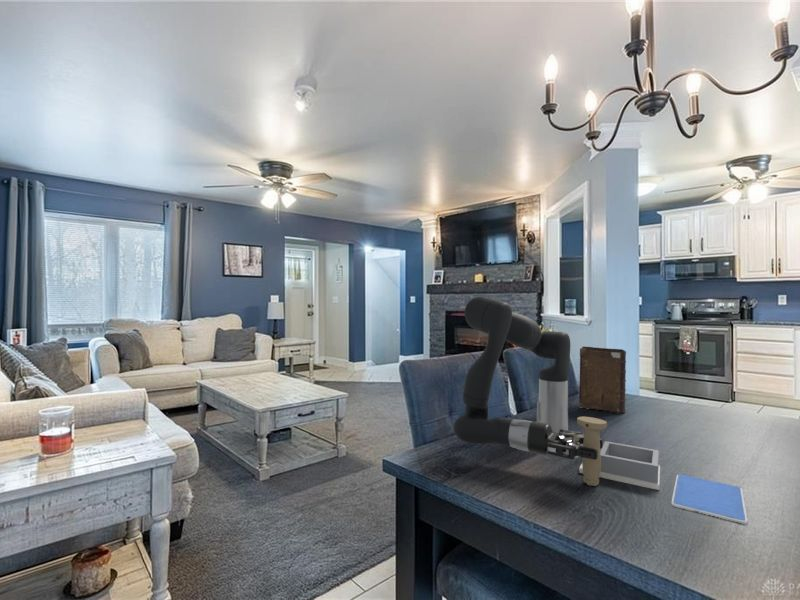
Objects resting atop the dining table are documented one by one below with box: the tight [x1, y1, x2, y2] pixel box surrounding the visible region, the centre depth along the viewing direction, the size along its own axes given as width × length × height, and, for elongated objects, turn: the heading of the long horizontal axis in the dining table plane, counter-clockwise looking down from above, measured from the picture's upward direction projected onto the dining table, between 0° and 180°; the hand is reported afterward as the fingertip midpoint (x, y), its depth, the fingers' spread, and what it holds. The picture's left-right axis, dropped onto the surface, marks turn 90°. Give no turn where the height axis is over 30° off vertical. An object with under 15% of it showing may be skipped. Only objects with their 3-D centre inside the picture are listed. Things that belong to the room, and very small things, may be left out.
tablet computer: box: [670, 474, 749, 525], centre depth 90 cm, size 19×13×1 cm, turn 143°
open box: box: [578, 440, 661, 491], centre depth 104 cm, size 17×14×5 cm
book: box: [578, 346, 627, 414], centre depth 165 cm, size 17×7×25 cm, turn 54°
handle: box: [576, 416, 608, 487], centre depth 97 cm, size 5×6×15 cm
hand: (600, 449), depth 96 cm, fingers open, 8 cm apart
